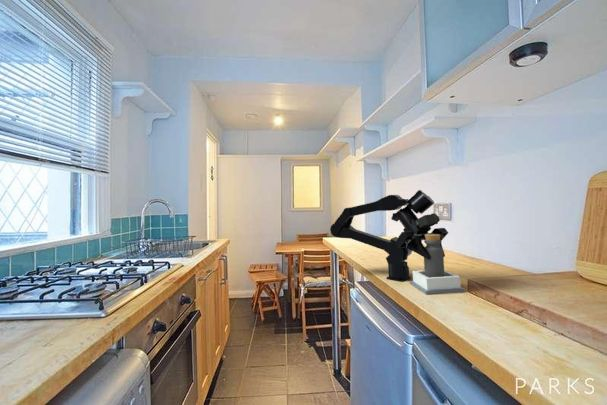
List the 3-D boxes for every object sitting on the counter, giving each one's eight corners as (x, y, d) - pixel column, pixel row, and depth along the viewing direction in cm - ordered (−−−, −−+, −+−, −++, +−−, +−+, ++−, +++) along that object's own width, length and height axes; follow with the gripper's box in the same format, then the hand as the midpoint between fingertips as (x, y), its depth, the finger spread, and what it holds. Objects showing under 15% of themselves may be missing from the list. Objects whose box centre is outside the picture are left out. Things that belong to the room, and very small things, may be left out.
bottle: (426, 282, 91) (424, 235, 91) (423, 277, 97) (421, 233, 97) (446, 283, 90) (444, 235, 90) (442, 278, 95) (440, 233, 95)
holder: (410, 283, 99) (409, 270, 99) (444, 281, 99) (443, 268, 99) (426, 294, 87) (425, 279, 87) (464, 291, 87) (463, 277, 87)
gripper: (399, 207, 93) (427, 245, 83) (442, 204, 100) (472, 239, 90) (385, 229, 101) (409, 267, 90) (426, 225, 108) (452, 260, 97)
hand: (437, 257), depth 92 cm, fingers closed on bottle, 6 cm apart
